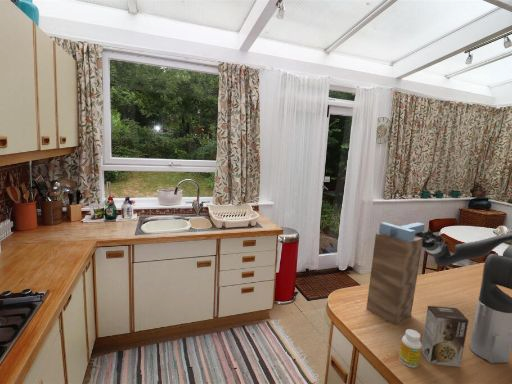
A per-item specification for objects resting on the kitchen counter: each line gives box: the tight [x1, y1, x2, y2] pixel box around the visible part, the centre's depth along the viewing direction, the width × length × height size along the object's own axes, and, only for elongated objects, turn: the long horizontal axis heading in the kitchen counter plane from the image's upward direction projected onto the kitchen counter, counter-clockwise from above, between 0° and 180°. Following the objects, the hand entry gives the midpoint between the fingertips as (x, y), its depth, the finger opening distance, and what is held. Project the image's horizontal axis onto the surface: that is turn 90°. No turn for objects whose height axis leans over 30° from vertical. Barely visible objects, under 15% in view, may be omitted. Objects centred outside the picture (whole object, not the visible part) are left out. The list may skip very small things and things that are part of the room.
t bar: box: [378, 221, 426, 242], centre depth 112 cm, size 20×12×4 cm, turn 125°
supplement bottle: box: [398, 328, 422, 368], centre depth 88 cm, size 5×5×10 cm
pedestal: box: [366, 232, 423, 325], centre depth 112 cm, size 12×12×32 cm
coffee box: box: [421, 305, 469, 368], centre depth 89 cm, size 9×6×16 cm
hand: (417, 229), depth 117 cm, fingers open, 8 cm apart
